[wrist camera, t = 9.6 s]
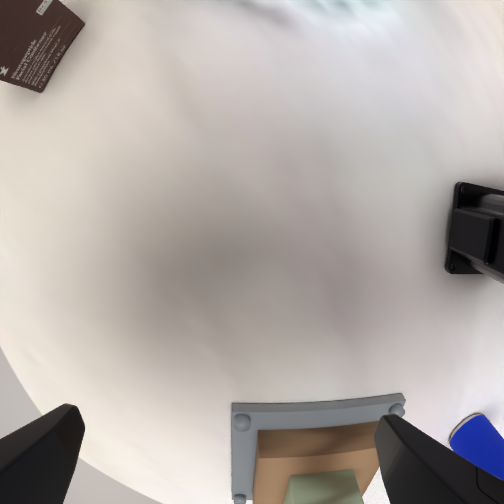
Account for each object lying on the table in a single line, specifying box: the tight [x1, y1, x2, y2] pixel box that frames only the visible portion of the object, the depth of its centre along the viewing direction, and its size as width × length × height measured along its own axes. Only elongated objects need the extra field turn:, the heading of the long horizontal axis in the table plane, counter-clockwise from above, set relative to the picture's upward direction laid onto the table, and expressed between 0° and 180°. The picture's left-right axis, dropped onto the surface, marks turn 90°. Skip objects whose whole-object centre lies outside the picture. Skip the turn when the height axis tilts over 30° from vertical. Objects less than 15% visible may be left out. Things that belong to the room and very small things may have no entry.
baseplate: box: [231, 393, 406, 504], centre depth 23 cm, size 14×14×2 cm
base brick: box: [252, 421, 380, 504], centre depth 21 cm, size 10×10×3 cm
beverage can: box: [450, 414, 504, 480], centre depth 17 cm, size 5×5×15 cm
